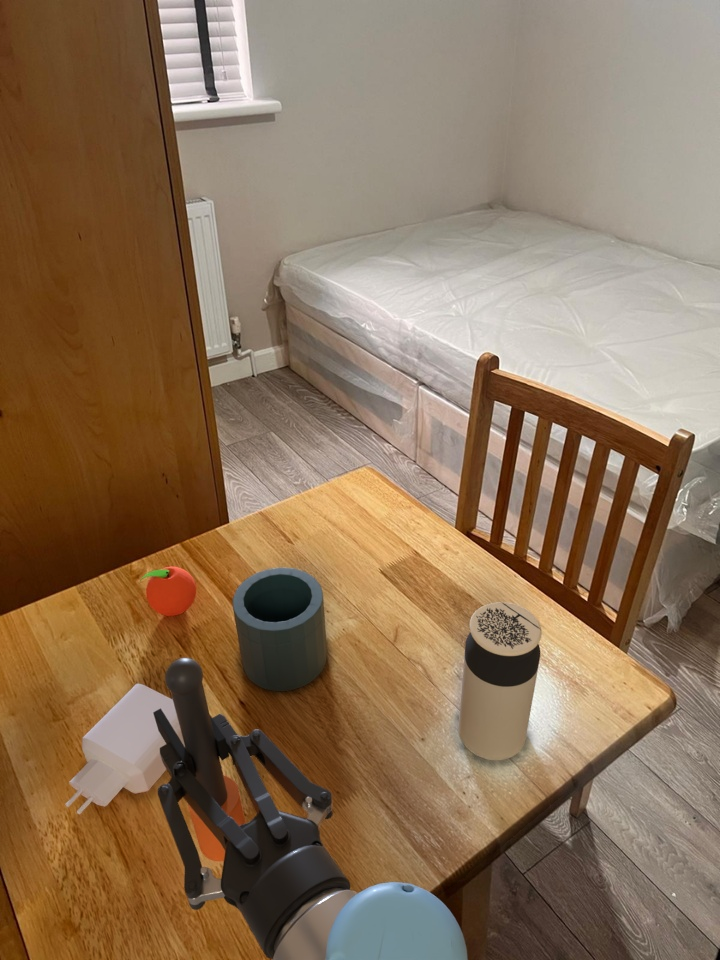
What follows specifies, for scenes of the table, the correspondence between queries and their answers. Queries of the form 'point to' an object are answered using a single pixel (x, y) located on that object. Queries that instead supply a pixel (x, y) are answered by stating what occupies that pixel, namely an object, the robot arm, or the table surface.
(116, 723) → the charger
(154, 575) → the clementine
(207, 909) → the table surface
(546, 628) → the table surface
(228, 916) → the table surface
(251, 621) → the dark grey pipe sleeve
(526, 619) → the travel mug
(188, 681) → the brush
